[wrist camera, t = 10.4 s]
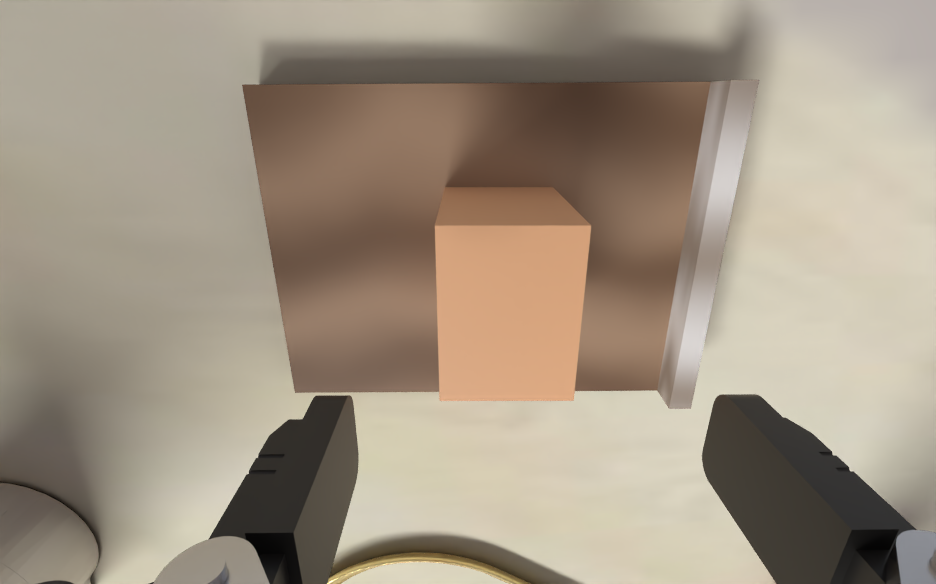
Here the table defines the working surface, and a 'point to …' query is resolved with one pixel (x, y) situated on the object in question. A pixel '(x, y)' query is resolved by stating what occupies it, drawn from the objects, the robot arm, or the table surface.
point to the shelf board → (495, 165)
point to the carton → (509, 293)
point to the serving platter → (345, 574)
